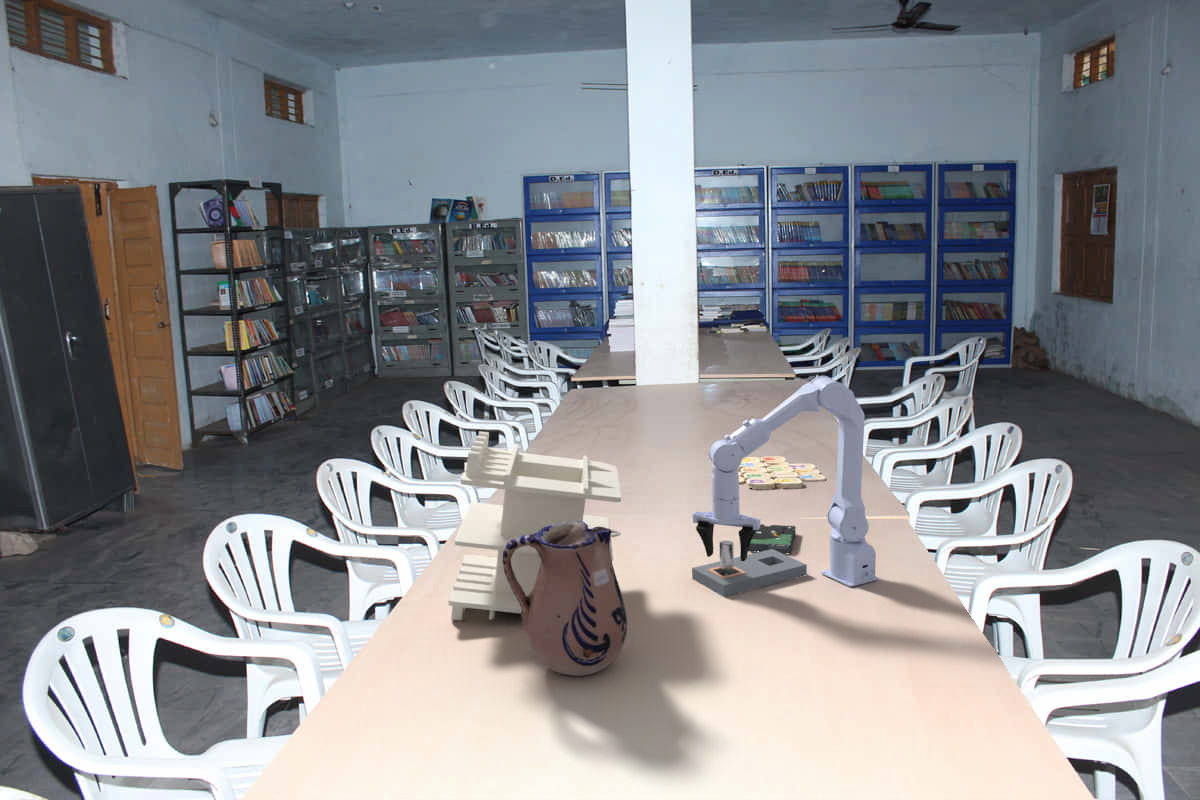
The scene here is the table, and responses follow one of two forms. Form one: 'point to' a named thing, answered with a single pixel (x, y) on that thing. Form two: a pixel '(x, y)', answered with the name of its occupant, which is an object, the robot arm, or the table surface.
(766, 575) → the dock plate
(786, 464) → the alphabet tiles
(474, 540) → the desk organizer
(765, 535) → the disk drive
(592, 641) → the ceramic pitcher
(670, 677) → the table surface
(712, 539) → the robot arm
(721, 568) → the steel pin
